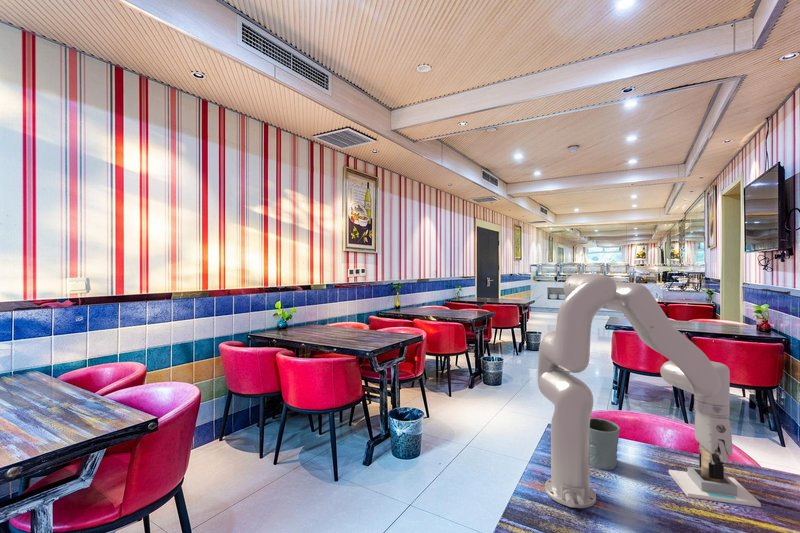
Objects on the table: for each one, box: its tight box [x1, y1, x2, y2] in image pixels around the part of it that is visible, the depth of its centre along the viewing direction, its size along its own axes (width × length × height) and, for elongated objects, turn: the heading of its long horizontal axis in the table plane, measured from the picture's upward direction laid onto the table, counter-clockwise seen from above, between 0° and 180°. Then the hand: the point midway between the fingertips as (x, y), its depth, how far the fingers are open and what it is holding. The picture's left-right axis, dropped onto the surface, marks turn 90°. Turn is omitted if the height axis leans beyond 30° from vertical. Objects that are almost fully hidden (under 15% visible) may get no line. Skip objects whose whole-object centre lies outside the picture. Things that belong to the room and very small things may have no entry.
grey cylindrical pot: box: [590, 417, 620, 471], centre depth 118 cm, size 10×10×12 cm
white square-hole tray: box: [668, 466, 762, 508], centre depth 104 cm, size 12×16×4 cm
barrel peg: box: [700, 447, 722, 483], centre depth 104 cm, size 4×4×8 cm
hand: (711, 472), depth 104 cm, fingers closed on barrel peg, 4 cm apart
